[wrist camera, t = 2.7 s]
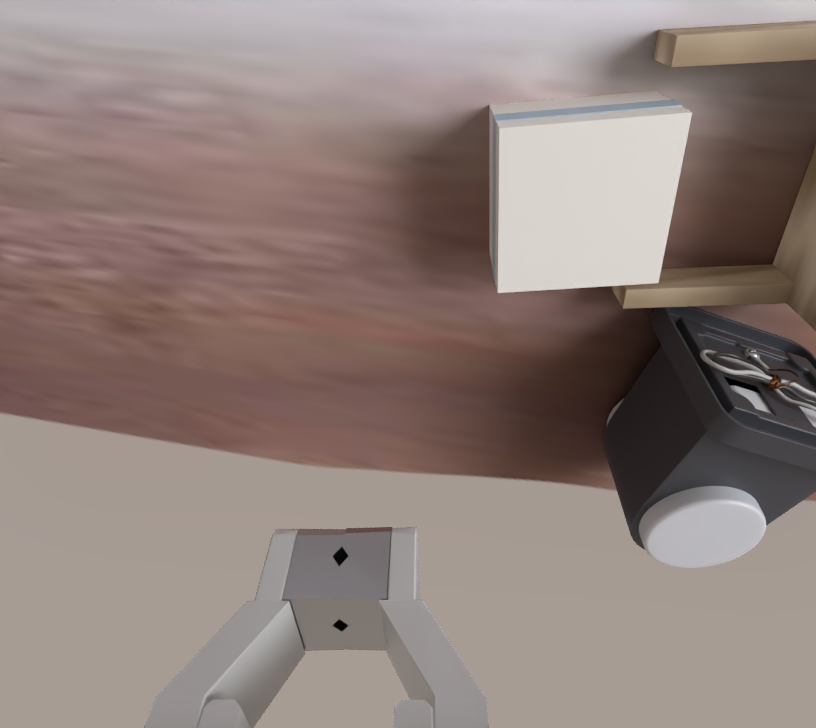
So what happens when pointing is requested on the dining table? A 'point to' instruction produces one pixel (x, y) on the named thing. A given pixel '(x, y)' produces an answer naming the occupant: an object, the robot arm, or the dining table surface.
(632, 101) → the carton
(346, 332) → the dining table surface
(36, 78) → the dining table surface
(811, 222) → the stand
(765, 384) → the light fixture
